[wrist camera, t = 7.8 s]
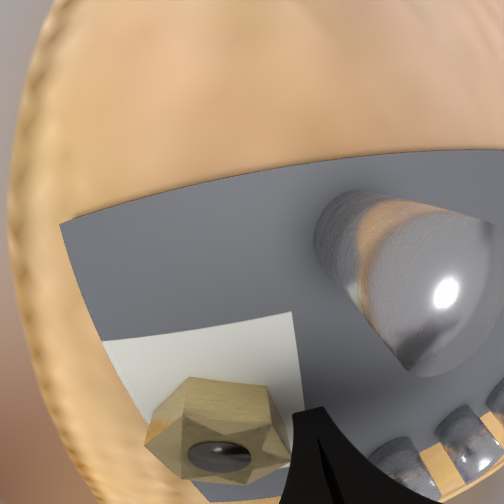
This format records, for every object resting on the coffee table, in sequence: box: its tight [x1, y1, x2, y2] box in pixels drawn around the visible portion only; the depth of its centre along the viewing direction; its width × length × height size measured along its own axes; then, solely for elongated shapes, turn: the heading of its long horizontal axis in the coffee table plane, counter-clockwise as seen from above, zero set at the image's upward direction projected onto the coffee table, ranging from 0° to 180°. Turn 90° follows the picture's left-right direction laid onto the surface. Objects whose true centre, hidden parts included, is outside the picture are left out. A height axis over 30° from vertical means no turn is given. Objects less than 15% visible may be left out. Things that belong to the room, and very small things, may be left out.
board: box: [59, 150, 504, 502], centre depth 11 cm, size 19×28×1 cm
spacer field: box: [313, 190, 504, 501], centre depth 8 cm, size 17×16×5 cm
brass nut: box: [144, 376, 291, 485], centre depth 9 cm, size 5×6×2 cm
